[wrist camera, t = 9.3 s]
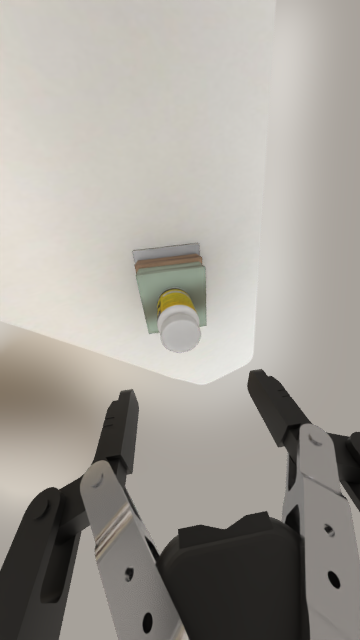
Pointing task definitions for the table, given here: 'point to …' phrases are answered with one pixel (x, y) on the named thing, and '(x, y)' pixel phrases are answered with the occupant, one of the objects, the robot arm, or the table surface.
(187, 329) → the supplement bottle
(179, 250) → the baseplate
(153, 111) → the table surface
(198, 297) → the brick tower
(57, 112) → the table surface
